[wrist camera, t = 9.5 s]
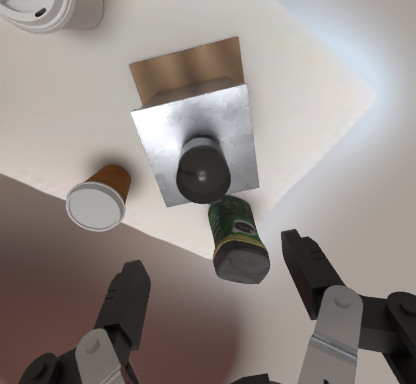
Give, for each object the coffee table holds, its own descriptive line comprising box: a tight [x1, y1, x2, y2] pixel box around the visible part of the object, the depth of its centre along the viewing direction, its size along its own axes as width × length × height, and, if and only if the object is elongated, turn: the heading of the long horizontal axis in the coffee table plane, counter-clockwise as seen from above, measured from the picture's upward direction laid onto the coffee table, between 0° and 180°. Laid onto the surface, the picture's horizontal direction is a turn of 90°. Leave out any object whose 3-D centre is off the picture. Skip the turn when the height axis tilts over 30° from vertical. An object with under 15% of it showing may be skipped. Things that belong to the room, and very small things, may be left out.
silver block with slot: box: [131, 76, 259, 207], centre depth 35 cm, size 12×15×18 cm
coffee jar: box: [208, 196, 270, 284], centre depth 46 cm, size 10×8×19 cm
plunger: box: [176, 138, 231, 204], centre depth 29 cm, size 8×8×20 cm
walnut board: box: [129, 37, 244, 105], centre depth 42 cm, size 18×22×1 cm
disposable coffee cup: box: [66, 165, 131, 231], centre depth 43 cm, size 10×10×12 cm
